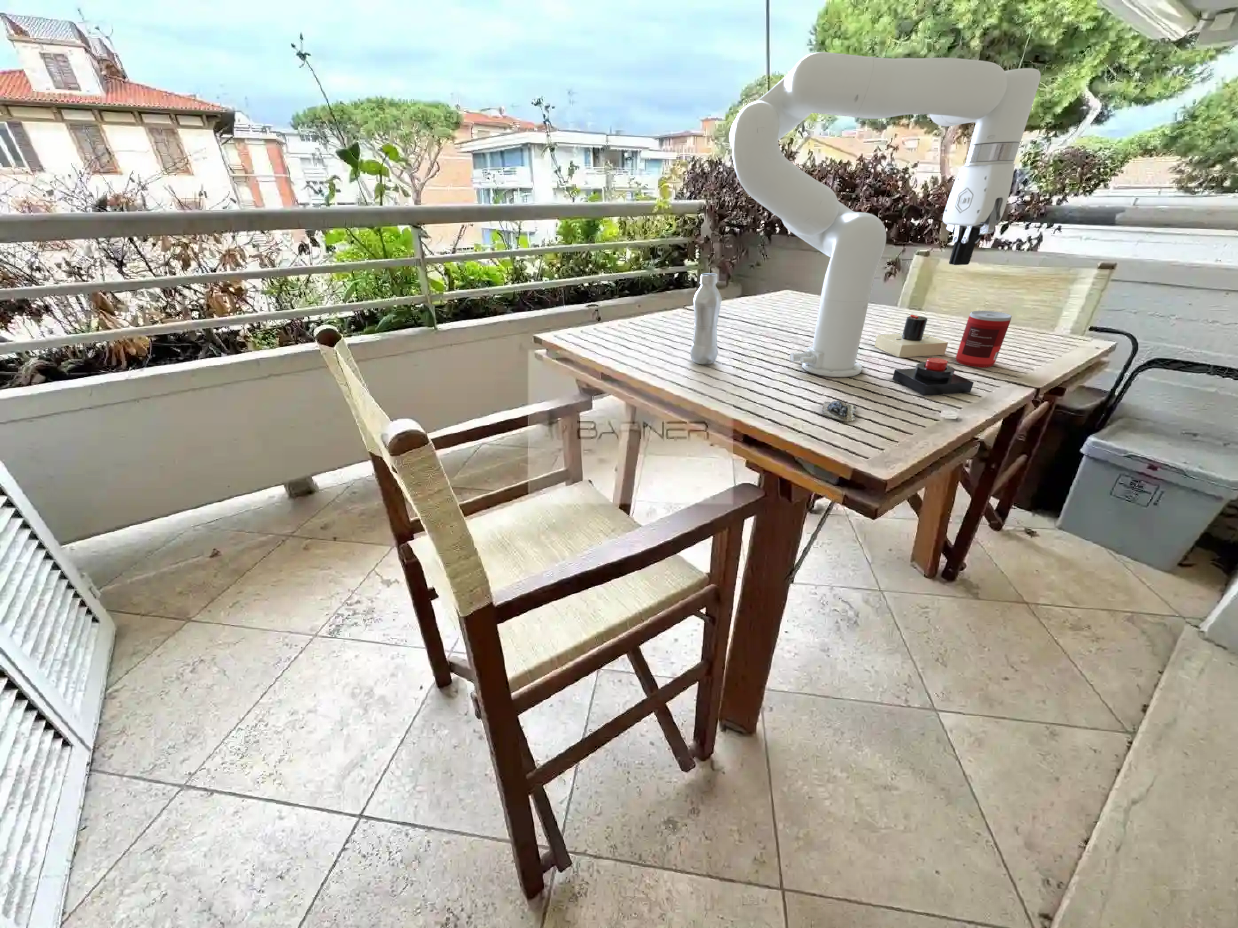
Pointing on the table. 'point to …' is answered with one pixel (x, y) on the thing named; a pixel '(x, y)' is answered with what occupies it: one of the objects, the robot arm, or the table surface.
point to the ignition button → (936, 364)
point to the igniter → (932, 380)
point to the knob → (914, 328)
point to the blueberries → (839, 410)
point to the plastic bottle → (706, 320)
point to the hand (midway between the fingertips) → (958, 264)
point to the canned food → (982, 338)
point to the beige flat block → (910, 345)
